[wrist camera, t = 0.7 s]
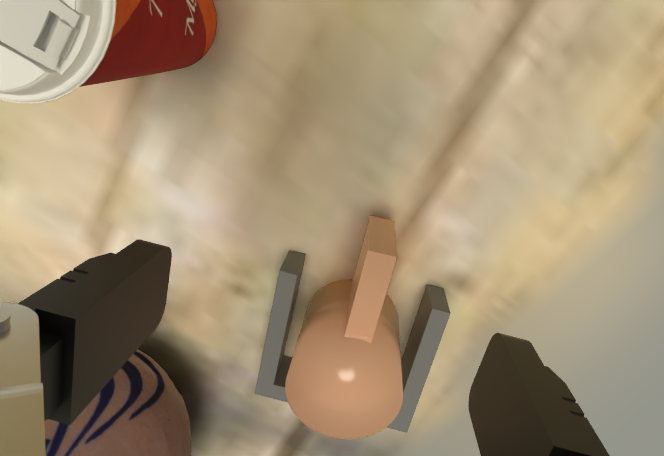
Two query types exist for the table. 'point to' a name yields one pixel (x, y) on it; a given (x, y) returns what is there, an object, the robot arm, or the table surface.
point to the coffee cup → (96, 42)
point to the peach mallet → (351, 348)
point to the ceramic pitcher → (127, 417)
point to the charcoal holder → (413, 361)
